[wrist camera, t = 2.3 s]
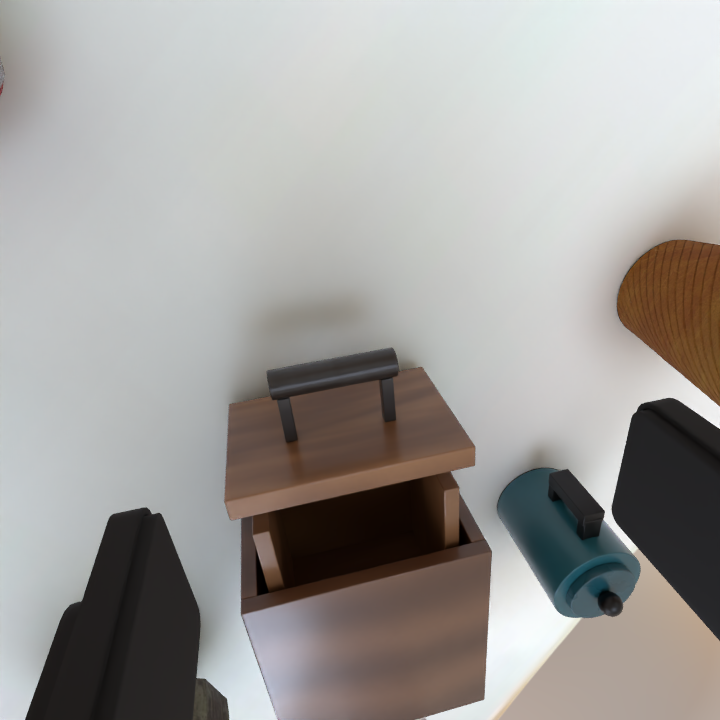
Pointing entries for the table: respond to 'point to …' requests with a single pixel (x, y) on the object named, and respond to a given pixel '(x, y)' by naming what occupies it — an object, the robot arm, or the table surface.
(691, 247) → the disposable coffee cup
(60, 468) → the table surface
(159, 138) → the table surface
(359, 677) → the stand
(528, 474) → the kettle
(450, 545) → the drawer
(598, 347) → the table surface
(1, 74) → the decorative mushroom
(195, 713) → the green bell
